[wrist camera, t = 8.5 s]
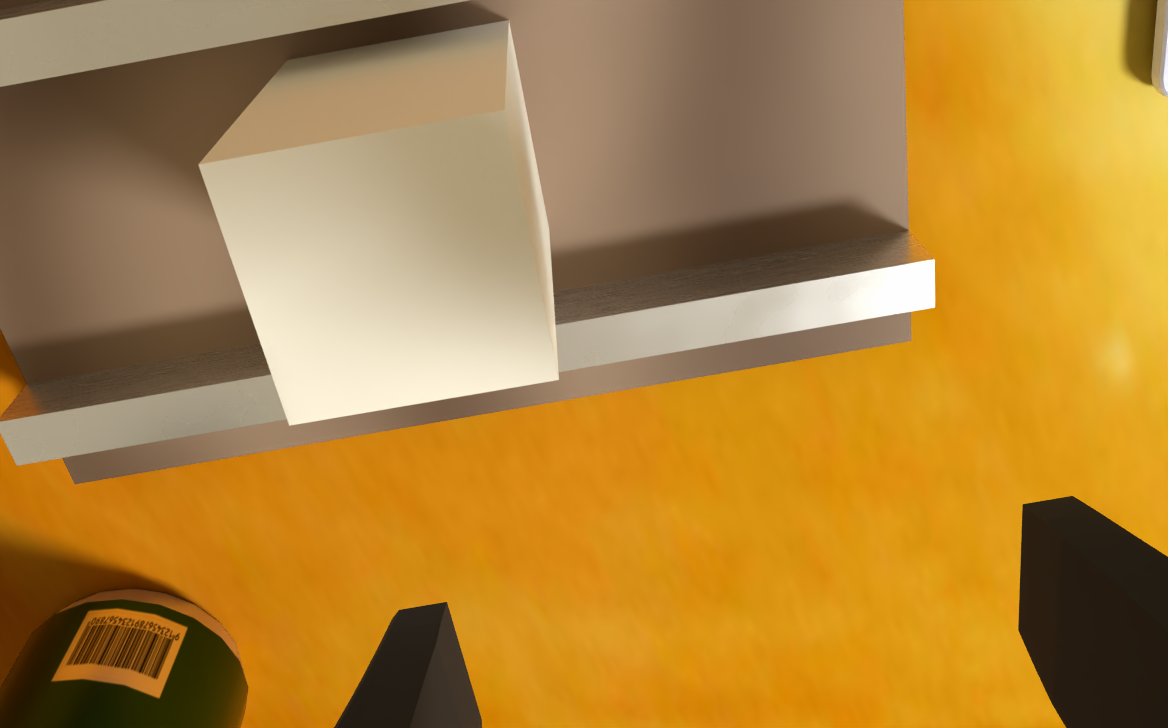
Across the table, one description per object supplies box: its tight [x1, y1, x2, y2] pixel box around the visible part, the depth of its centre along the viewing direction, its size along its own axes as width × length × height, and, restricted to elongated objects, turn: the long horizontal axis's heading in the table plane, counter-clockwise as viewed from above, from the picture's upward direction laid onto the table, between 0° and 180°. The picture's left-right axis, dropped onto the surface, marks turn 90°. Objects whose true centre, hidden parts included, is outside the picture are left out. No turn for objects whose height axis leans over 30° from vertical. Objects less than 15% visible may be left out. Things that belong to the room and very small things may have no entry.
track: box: [0, 0, 935, 484], centre depth 20 cm, size 18×11×2 cm, turn 99°
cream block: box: [198, 20, 559, 426], centre depth 17 cm, size 4×4×6 cm
